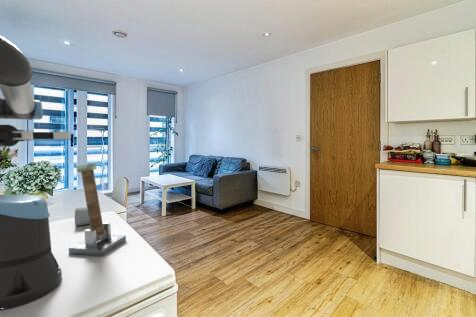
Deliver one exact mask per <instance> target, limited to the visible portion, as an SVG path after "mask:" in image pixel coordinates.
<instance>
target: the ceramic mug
mask: <svg viewBox="0 0 476 317" xmlns="http://www.w3.org/2000/svg"><path fill="white" fill-rule="evenodd" d="M74 225H75V226H76V227H77V226H85V225H90V221H89V215H88V209H87V206H83V207H75V209H74Z"/></svg>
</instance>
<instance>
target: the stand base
mask: <svg viewBox="0 0 476 317" xmlns="http://www.w3.org/2000/svg"><path fill="white" fill-rule="evenodd" d="M102 223H103V229H105V230H106V231H107V236H106V237H104V238H102V239H101V240H99V241H97V240H96V230H91V228H90V229H89V228H87V229H85V230H84V239H83V240H81V241H79V242H77V243H75V244H74V245H71V246H70V247H68V254H69V255H78V256H89V257H103V256H105V255H107V254H108V253H110V252H111V251H112V250H113V251H114V249H116V248H117V247H119V246H121V245H122V244H123V243H125V242H126V241H127V235H122V234H112V230H111V223H110V222H103V221H102Z"/></svg>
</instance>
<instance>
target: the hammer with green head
mask: <svg viewBox="0 0 476 317" xmlns="http://www.w3.org/2000/svg"><path fill="white" fill-rule="evenodd" d="M94 170H97V166H96V163H89V164H88V163H87V164H81V165H76V171H77V173H80V175H81V180H82V186H83V192H84V197H85V202H86V203H85V204H86V207H87V209H88V215H89V221H90V224H89V225H90V226H89V227H90V229H91V230H96V240H97V241H99V240H101V239H102V238H104V237H106V236H107V231H106V230H105V229H103V223H102V222H103V218H102V214H101V208H100V201H99V195H98V188H97V183H96V177H95V171H94Z"/></svg>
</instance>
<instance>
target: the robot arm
mask: <svg viewBox="0 0 476 317" xmlns="http://www.w3.org/2000/svg"><path fill="white" fill-rule="evenodd" d="M32 68H33V67H32V65H31V63H30V61H29V60H28V58H27V57H26V55H25V54H24V53H23V52H22V51H21V50H20V49H19V48H18V47H17V46H16V45H15V44H13V43H12V42H11V41H9V40H8V39H6V38H5V37H4V36H1V35H0V91H1V94H2V96H3V97H0V119H1V120H2V119H3V120H4V119H6V120H7V119H8V120H31V121H32V120H33V121H34V120H42V119H43V118H44V117H43V116H44V115H43V114H44V113H43V104H42V101H40V100H37V99H34V94H33V90H32V85H31V80H32V78H33V69H32ZM47 139H48V140H50V139H51V140H71V131H58V130H57V129H54V131H34V130H24V129H18V128H17V127H15V126H14V125H11V124H0V147H14V146H16V145H17V144H18V143H19V142H25V141H34V140H47ZM50 217H51V216H50V213H49V207H48V202H47V200H46V199H45V198H43V197H42V196H38V195H32V194H3V195H0V310H2V309H1V308H6V309H10V308H15V307H19V306H22V305H26V304H28V303H30V302H33V301H35V300H38V299H40V298H42V297H43V296H46V295H47V294H49V293H50V292H52V291H53V290H55V289H56V288H57V287H58V286H59V285H60V284H61V282H62V280H63V274H62V269H61V267H60V265H59V264H58V261H57V259H56V258H55V256H54V254H53V252H52V242H51V241H52V240H51V231H50V230H51V229H50V220H49V219H50Z"/></svg>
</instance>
